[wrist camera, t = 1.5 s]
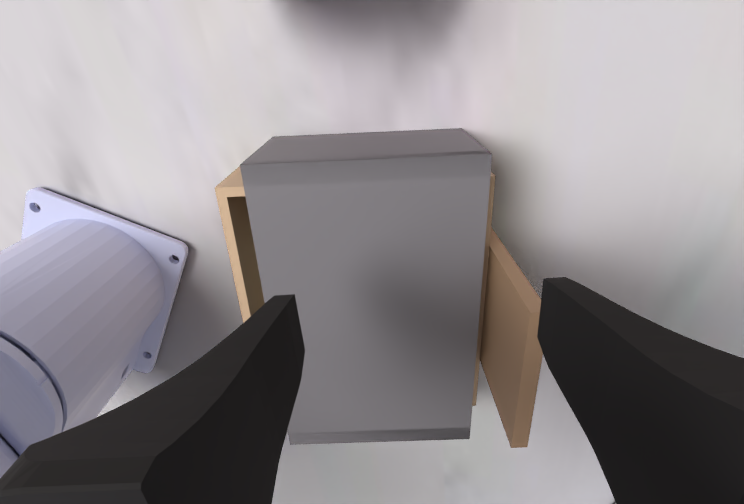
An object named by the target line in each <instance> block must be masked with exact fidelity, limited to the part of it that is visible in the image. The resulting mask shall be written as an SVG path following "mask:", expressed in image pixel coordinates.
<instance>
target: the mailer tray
mask: <svg viewBox="0 0 744 504" xmlns="http://www.w3.org/2000/svg"><path fill="white" fill-rule="evenodd" d="M494 187H495V175H494V174H493V173H492V172H491V177H490V189H489V202H488V214H487V226H486V239H485V251H484V264H483V276H482V289H481V301H480V314H479V326H478V338H477V351H476V363H475V376H474V388H473V401H472V406H475V405H476V397H477V386H478V374H479V362H480V361H481V364H482V367H483V370H484V372H485V375H486V378H487V381H488V384H489V387H490V389H491V392H492V395H493V398H494V401H495V404H496V406H497V409H498V412H499V415H500V418H501V421H502V423H503V426H504V429H505V432H506V435H507V438H508V440H509V443H510V446H511V448H517V447H527V446H528V440H529V434H530V428H531V422H532V416H533V409H534V403H535V397H536V391H537V385H538V379H539V373H540V367H541V361H542V355H543V352H542V349H541V346H540V343H539V341H538V338H537V334H538V325H539V316H540V307H541V299H540V297H539V296H538V294H537V293H536V291H535V290H534V288H533V287H532V286H531V284H530V283H529V281H528V280H527V278H526V277H525V275H524V274H523V273H522V271H521V270H520V268H519V267H518V265H517V264H516V262H515V261H514V259H513V258H512V257H511V255H510V254H509V252H508V251H507V249H506V248H505V246H504V245H503V243H502V242H501V241H500V239H499V238H498V236H497V235H496V233H495V232H494V230H493V229H492V227H491V222H492V210H493V198H494ZM215 192H216V196H217V201H218V206H219V210H220V215H221V220H222V225H223V229H224V234H225V239H226V244H227V248H228V253H229V258H230V262H231V267H232V272H233V277H234V281H235V286H236V291H237V295H238V300H239V305H240V310H241V314H242V319H243V323H244V322H245V321H246V320H247V319H248V318H250V317H251V316H252V315H253V314H254V313H255V312H256V311H257V310H258V309H259V308H261V307H262V306H263V305H264V304H265V302H264V297H263V291H262V286H261V280H260V275H259V269H258V264H257V258H256V252H255V247H254V241H253V236H252V230H251V225H250V219H249V214H248V208H247V203H246V197H245V192H244V186H243V181H242V175H241V170H240V166H239V167H238V168H237V169H236V170H235V171H234V172H232V173H231V174H230V175H229V176H228V177H227V178H225V179H224V180H223V181H222V182H221V183H220V184H218V185H217V186H216V187H215Z"/></svg>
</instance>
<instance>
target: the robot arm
mask: <svg viewBox="0 0 744 504" xmlns="http://www.w3.org/2000/svg"><path fill="white" fill-rule="evenodd" d="M35 203H36V204H38V205H39V206H40V209H41V210H40V209H38V208H37V207H36V205H35ZM172 255H175V256H177V257H178V258H179V261H177V260H175V259H174V258H173V257H172ZM187 255H188V247H187V245H186V244H185V243H183V242H182V241H179V240H177V239H174V238H172V237H169V236H166V235H164V234H161V233H158V232H156V231H153V230H151V229H148V228H145V227H143V226H140V225H138V224H135V223H132V222H130V221H127V220H124V219H122V218H119V217H117V216H114V215H111V214H109V213H106V212H104V211H101V210H98V209H96V208H93V207H90V206H88V205H85V204H83V203H80V202H77V201H75V200H72V199H70V198H67V197H64V196H62V195H59V194H56V193H54V192H51V191H49V190H46V189H43V188H40V187H36V188H32V189H30V190H28V191H27V193H26V199H25V209H24V219H23V228H22V238H21V240H20V241H19V242H17V243H15V244H13V245H11V246H9V247H7V248H5V249H4V250H2V251H0V504H272V497H273V492H274V486H275V480H276V474H277V469H278V463H279V459H280V455H281V450H282V447H283V443H284V440H285V436H286V432H287V429H288V425H289V422H290V418H291V415H292V411H293V408H294V404H295V401H296V397H297V393H298V390H299V386H300V382H301V377H302V370H303V363H304V355H305V347H304V341H303V336H302V331H301V325H300V320H299V315H298V309H297V304H296V299H295V294H291V295H275V296H273V297H272V298H271V299H269V300H268V301H267V302H266V303H265V304H264V305H263V306H262V307H261V308H259V309H258V310H257V311H256V312H255V313H254V314H253V315H252V316H251V317H250V318H248V319H247V320H246V321H245V322H244V323H243V324H242V325H241V326H240V327H238V328H237V329H236V330H235V331H234V332H233V333H232V334H230V335H229V336H228V337H227V338H225V339H224V340H223V341H222V342H220V343H219V344H218V345H217V346H216V347H214V348H213V349H212V350H211V351H209V352H208V353H207V354H205V355H204V356H203V357H201V358H200V359H199V360H197V361H196V362H194V363H193V364H192V365H190V366H189V367H187V368H186V369H184V370H183V371H181V372H180V373H178V374H177V375H175V376H173V377H172V378H170V379H168V380H167V381H165V382H163V383H162V384H160V385H158V386H156V387H155V388H153V389H151V390H149V391H148V392H146V393H144V394H142V395H141V396H139V397H137V398H135V399H133V400H131V401H129V402H128V403H126V404H124V405H122V406H120V407H118V408H116V409H114V410H111V411H109V412H107V413H105V414H103V415H101V416H99V417H97V416H98V414H99V413H100V412H101V411H102V409H103V408H104V407H105V405H106V404H107V403H108V401H109V400H110V399H111V397H112V396H113V395H114V393H115V392H116V391H117V389H118V388H119V387H120V385H121V384H122V383H123V381H124V380H125V379H126V377H127V376H128V375H129V373H130V372H131V371H132V370H136V371H139V372H142V373H149V372H151V371H152V369H153V368H154V366H155V363H156V360H157V357H158V353H159V350H160V346H161V343H162V340H163V336H164V333H165V330H166V326H167V323H168V319H169V316H170V313H171V309H172V306H173V303H174V299H175V296H176V292H177V289H178V286H179V282H180V279H181V276H182V272H183V269H184V265H185V262H186V259H187ZM537 338H538V341H539V343H540V346H541V349H542V352H543V354H544V357H545V359H546V362H547V364H548V367H549V369H550V371H551V373H552V374H553V376H554V378H555V380H556V382H557V384H558V385H559V387H560V389H561V391H562V393H563V394H564V396H565V398H566V400H567V402H568V403H569V405H570V407H571V409H572V411H573V412H574V414H575V416H576V418H577V419H578V421H579V423H580V425H581V427H582V428H583V430H584V432H585V434H586V436H587V438H588V440H589V442H590V444H591V446H592V448H593V449H594V452H595V454H596V456H597V459H598V461H599V463H600V465H601V468H602V470H603V472H604V475H605V477H606V479H607V482H608V484H609V486H610V489H611V491H612V494H613V496H614V499H615V501H616V504H744V358H741V357H738V356H735V355H732V354H729V353H726V352H723V351H721V350H718V349H715V348H712V347H710V346H707V345H705V344H702V343H700V342H697V341H695V340H692V339H690V338H687V337H685V336H682V335H680V334H678V333H675V332H673V331H671V330H668V329H666V328H664V327H662V326H660V325H658V324H656V323H654V322H652V321H649V320H647V319H645V318H643V317H641V316H639V315H637V314H635V313H633V312H631V311H629V310H627V309H625V308H624V307H622V306H620V305H618V304H616V303H614V302H612V301H610V300H609V299H607V298H605V297H603V296H601V295H599V294H598V293H596V292H594V291H592V290H590V289H588V288H587V287H585V286H583V285H581V284H579V283H577V282H575V281H573V280H571V279H568V278H566V277H562V278H546V279H543V288H542V298H541V307H540V316H539V325H538V334H537ZM147 352H149V353H150V354H148V353H147ZM96 417H97V418H96Z"/></svg>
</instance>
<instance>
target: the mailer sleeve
mask: <svg viewBox="0 0 744 504" xmlns="http://www.w3.org/2000/svg"><path fill="white" fill-rule="evenodd" d="M491 164H492V153H490V152H489V151H488V150H487V149H486V148H484V147H483V146H482V145H481V144H480V143H478V142H477V141H476V140H475V139H474V138H472V137H471V136H470V135H469V134H468V133H466V132H465V131H464V130H463V129H462V128H459V129H437V130H414V131H392V132H369V133H347V134H324V135H302V136H279V137H272V138H271V139H270V140H269V141H267V142H266V143H265V144H264V145H263V146H262V147H260V148H259V149H258V150H257V151H256V152H255V153H253V154H252V155H251V156H250V157H249V158H247V159H246V160H245V161H244V162H243V163H242V164H240V170H241V175H242V181H243V186H244V192H245V197H246V203H247V208H248V214H249V219H250V225H251V230H252V236H253V241H254V247H255V252H256V258H257V264H258V269H259V275H260V280H261V286H262V291H263V297H264V302H265V303H266V302H267V301H268V300H269V299H271V298H272V297H273V296H275V295H291V294H295V299H296V304H297V309H298V315H299V320H300V325H301V331H302V336H303V341H304V347H305V355H304V363H303V370H302V377H301V382H300V386H299V390H298V393H297V397H296V401H295V404H294V408H293V411H292V415H291V418H290V422H289V425H288V435H289V441H290V444H322V443H354V442H386V441H418V440H450V439H469V438H470V426H471V413H472V401H473V388H474V376H475V363H476V351H477V338H478V326H479V314H480V301H481V289H482V276H483V264H484V251H485V239H486V226H487V214H488V202H489V189H490V177H491Z"/></svg>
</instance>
